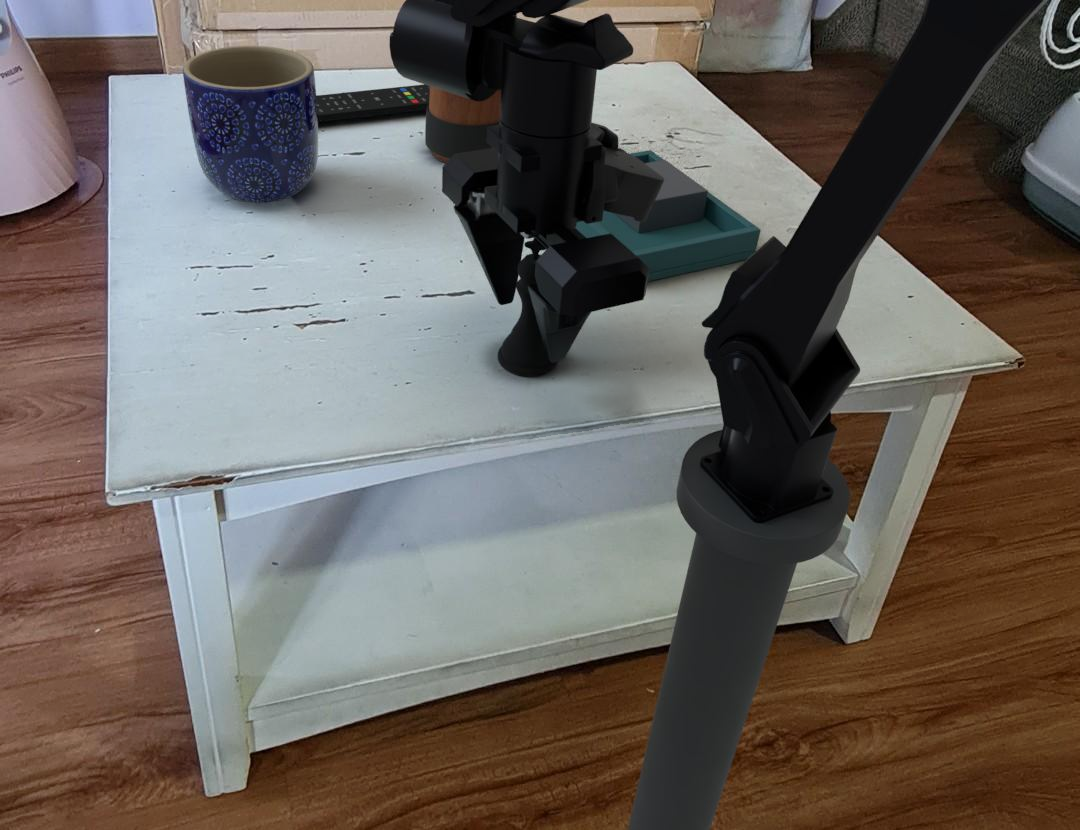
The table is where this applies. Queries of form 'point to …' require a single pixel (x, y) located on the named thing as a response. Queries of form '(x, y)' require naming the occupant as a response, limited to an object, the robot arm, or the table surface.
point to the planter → (253, 120)
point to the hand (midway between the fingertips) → (530, 330)
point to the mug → (459, 123)
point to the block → (672, 200)
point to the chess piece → (526, 326)
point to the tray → (683, 237)
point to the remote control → (372, 102)
